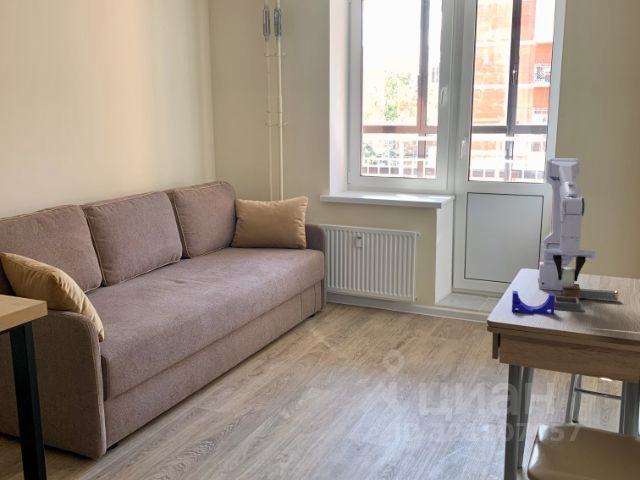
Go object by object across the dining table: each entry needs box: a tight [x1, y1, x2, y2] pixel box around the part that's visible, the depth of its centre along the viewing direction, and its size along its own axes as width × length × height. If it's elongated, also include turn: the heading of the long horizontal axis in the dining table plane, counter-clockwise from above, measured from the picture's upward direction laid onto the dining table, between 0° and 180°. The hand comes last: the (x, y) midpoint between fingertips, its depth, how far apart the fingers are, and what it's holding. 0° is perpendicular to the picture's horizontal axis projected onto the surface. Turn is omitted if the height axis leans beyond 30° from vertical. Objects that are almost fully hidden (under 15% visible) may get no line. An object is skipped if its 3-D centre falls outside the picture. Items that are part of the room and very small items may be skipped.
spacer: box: [560, 266, 575, 286], centre depth 206 cm, size 4×4×5 cm
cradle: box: [554, 295, 585, 313], centre depth 208 cm, size 10×10×2 cm
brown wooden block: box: [561, 283, 581, 301], centre depth 216 cm, size 5×6×4 cm
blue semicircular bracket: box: [511, 290, 556, 316], centre depth 201 cm, size 12×4×6 cm, turn 74°
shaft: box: [580, 288, 619, 301], centre depth 214 cm, size 14×3×3 cm, turn 74°
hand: (567, 279), depth 206 cm, fingers closed on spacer, 4 cm apart
